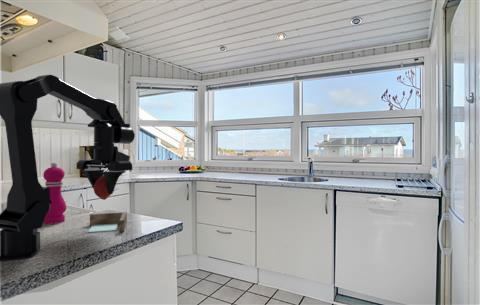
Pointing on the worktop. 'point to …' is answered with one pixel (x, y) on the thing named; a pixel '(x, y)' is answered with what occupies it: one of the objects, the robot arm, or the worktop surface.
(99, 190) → the onion
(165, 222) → the worktop surface
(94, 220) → the arena
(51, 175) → the pepper mill
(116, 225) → the pad
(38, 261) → the worktop surface
